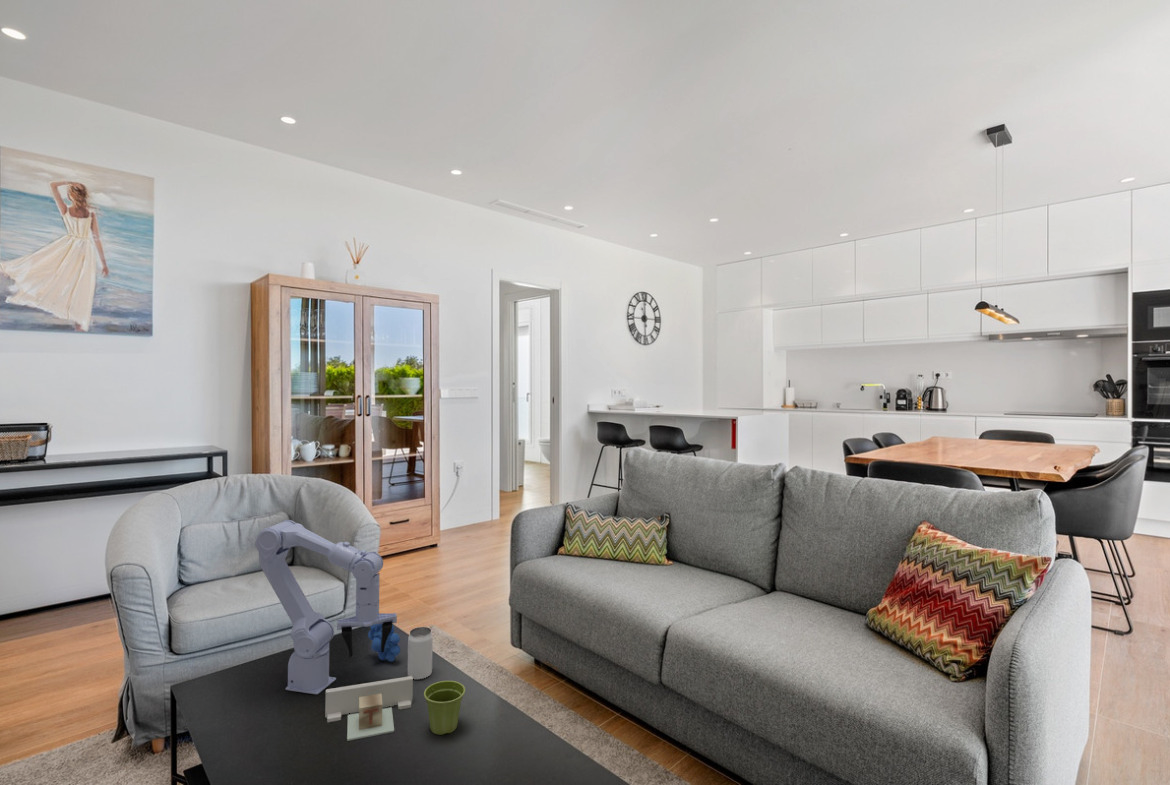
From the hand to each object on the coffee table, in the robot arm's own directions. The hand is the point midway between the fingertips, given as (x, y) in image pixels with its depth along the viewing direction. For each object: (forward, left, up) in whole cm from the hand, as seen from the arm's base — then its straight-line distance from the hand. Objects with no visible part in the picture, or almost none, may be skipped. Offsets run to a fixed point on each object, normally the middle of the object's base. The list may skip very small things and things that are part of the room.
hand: (366, 652), depth 152 cm
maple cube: (+10, -14, -9) cm, 19 cm away
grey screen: (+6, -8, -9) cm, 14 cm away
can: (+10, +10, -10) cm, 17 cm away
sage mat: (+10, -14, -9) cm, 19 cm away
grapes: (-4, +14, -10) cm, 17 cm away
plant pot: (+27, -11, -10) cm, 31 cm away
